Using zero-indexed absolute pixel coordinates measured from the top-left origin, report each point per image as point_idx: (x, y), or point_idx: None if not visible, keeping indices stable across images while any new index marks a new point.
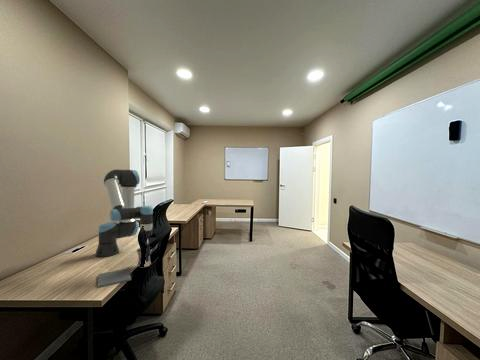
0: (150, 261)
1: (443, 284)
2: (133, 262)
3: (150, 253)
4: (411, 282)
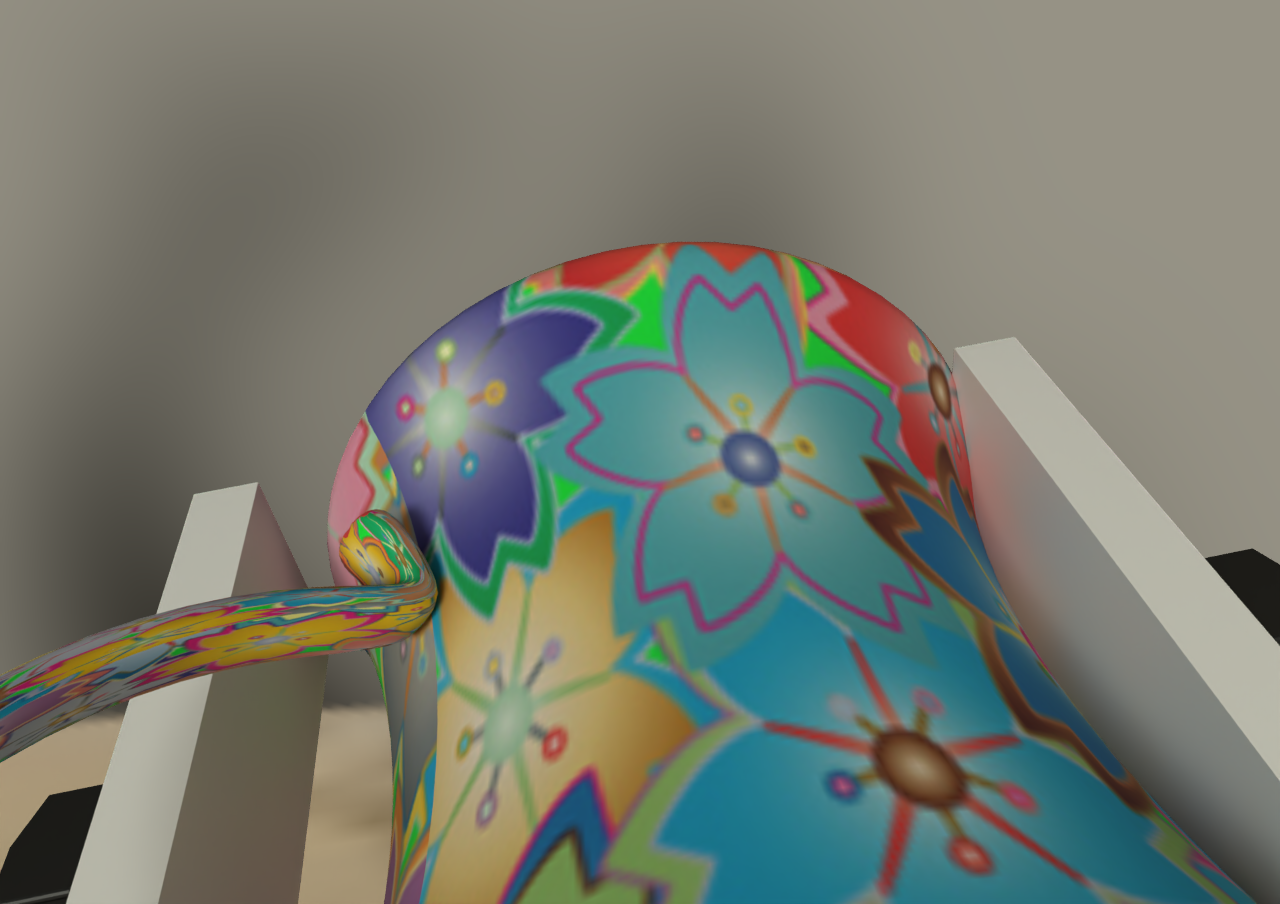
0: (697, 340)
1: None
2: (19, 792)
3: (1075, 864)
4: None
